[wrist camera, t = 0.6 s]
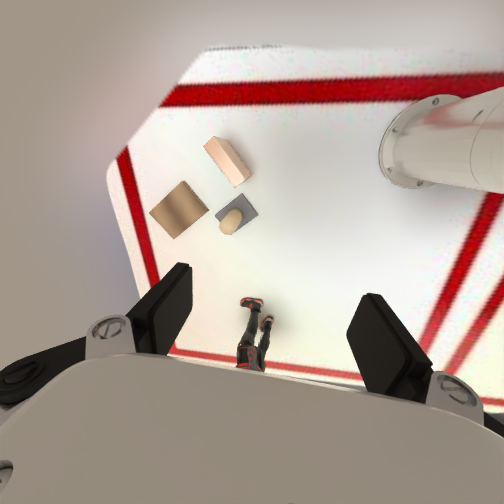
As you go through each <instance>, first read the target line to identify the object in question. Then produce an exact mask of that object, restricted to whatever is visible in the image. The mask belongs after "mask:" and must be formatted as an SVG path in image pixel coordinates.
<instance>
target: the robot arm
mask: <svg viewBox="0 0 504 504" xmlns="http://www.w3.org/2000/svg"><path fill="white" fill-rule="evenodd" d="M432 102H433V104H432ZM393 129H394V132H392V130H393ZM379 161H380V166H381V169H382V171H383V174H384V175H385V176H386V178H387V179H388V180H389V181H391V182H392V183H393V184H396V185H398V186H401V187H404V188H412V189H414V188H423V187H427V186H430V185H433V184H435V183H442V184H448V185H454V186H460V187H465V188H471V189H477V190H483V191H488V192H494V193H500V194H504V87H499V88H497V89H495V90H491V91H488V92H485V93H482V94H478V95H475V96H472V97H468V98H465V99H462V98H460V97H458V96H454V95H449V94H446V95H435V96H431V97H428V98H425V99H422V100H420V101H418V102H416V103H414V104H412V105H411V106H409V107H408V108H407V109H405V110H404V111H403V112H402V113H401V114H400V115H398V116H397V117H396V118H395V120H394V121H393V122H392V124H391V125H390V126H389V128H388V130H387V131H386V133H385V135H384V137H383V140H382V143H381V147H380V152H379ZM388 167H389V170H388V171H387V169H388ZM417 182H418V183H417ZM192 306H193V294H192V267H189V264H186V263H180V262H178V263H176V265H175V266H174V267H173V268H172V269H171V270H170V271H169V272H168V273H167V274H166V275H165V276H164V277H163V278H162V280H161V281H160V282H159V283H156V284H155V285H154V286H153V287H152V288H151V289H150V290H149V291H148V292H147V293H146V294H145V295H144V296H143V297H142V299H141V300H140V301H139V302H138V303H137V304H136V305H135V306H134V307H133V308H132V309H131V310H130V311H129V312H128V313H127V314H126V315H125V316H123V315H111V316H107V317H104V318H102V319H100V320H98V321H96V322H95V323H94V324H92V325H91V326H90V328H89V329H88V331H87V334H86V336H85V337H82V338H79V339H77V340H73V341H71V342H68V343H65V344H62V345H59V346H56V347H53V348H50V349H48V350H45V351H42V352H39V353H36V354H33V355H30V356H27V357H25V358H23V359H20V360H17V361H15V362H14V363H12V364H10V365H8V366H7V367H5V368H4V369H3V370H2V371H0V504H504V425H503V424H501V423H500V422H498V421H497V420H495V419H494V418H492V417H491V416H490V415H488V414H487V413H485V412H484V411H483V404H482V401H481V399H480V398H479V396H478V395H477V394H476V393H475V391H474V390H473V389H472V388H471V387H469V386H468V385H467V384H466V383H465V382H463V381H462V380H460V379H459V378H457V377H455V376H453V375H451V374H449V373H446V372H443V371H435V372H434V371H433V370H432V368H431V366H432V365H433V363H432V362H431V361H430V359H429V358H428V357H427V355H426V354H425V353H424V351H423V350H422V349H421V347H420V346H419V345H418V343H417V342H416V341H415V339H414V338H413V337H412V335H411V334H410V333H409V331H408V330H407V329H406V328H405V326H404V325H403V324H402V322H401V321H400V320H399V318H398V317H397V316H396V314H395V313H394V312H393V310H392V309H391V308H390V306H389V305H388V304H387V302H386V301H385V300H384V298H383V297H382V296H381V295H379V294H373V293H367V294H366V295H363V296H362V298H361V301H360V303H359V305H358V307H357V310H356V312H355V314H354V316H353V319H352V321H351V323H350V325H349V328H348V330H347V334H346V336H347V340H348V342H349V345H350V347H351V350H352V353H353V355H354V358H355V360H356V363H357V365H358V368H359V371H360V373H361V376H362V378H363V381H364V383H365V386H366V388H367V391H368V392H366V391H360V390H355V389H349V388H345V387H339V386H333V385H329V384H323V383H318V382H313V381H307V380H302V379H296V378H291V377H286V376H280V375H275V374H269V373H264V372H258V371H253V370H247V369H241V368H236V367H230V366H224V365H219V364H213V363H207V362H202V361H196V360H190V359H184V358H177V357H171V356H167V354H168V352H169V350H170V348H171V347H172V345H173V343H174V341H175V339H176V338H177V336H178V334H179V332H180V330H181V329H182V327H183V325H184V323H185V321H186V319H187V318H188V316H189V314H190V312H191V310H192Z"/></svg>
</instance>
